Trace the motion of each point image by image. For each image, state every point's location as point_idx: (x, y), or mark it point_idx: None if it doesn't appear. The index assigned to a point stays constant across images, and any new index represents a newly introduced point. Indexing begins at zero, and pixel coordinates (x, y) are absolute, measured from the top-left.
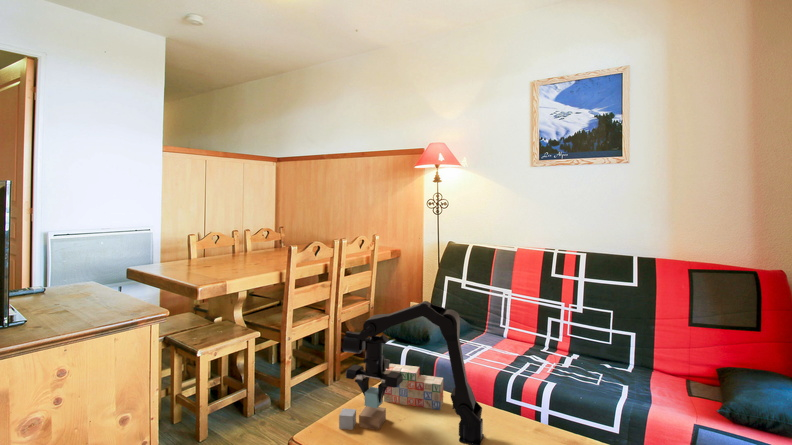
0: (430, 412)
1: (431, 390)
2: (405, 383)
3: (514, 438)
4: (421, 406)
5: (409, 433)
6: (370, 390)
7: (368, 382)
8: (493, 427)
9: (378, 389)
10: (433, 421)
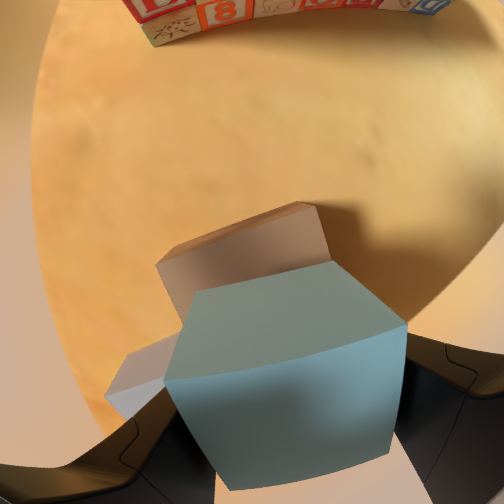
0: (423, 39)
1: None
2: None
3: None
4: (368, 6)
5: (449, 245)
6: (256, 453)
7: (138, 479)
8: None
9: (432, 493)
10: (469, 105)
